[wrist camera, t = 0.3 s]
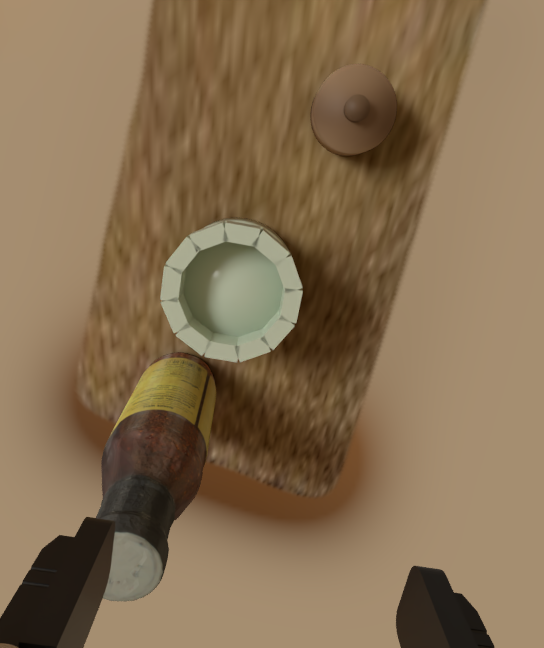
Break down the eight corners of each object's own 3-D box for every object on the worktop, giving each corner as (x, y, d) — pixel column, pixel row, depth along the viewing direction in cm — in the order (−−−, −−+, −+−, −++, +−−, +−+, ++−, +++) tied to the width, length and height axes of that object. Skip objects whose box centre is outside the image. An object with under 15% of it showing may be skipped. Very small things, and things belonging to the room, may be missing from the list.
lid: (319, 67, 34) (325, 52, 31) (394, 82, 35) (409, 70, 31) (303, 148, 36) (308, 143, 32) (375, 162, 36) (388, 159, 32)
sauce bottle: (129, 373, 40) (6, 542, 21) (191, 335, 39) (122, 475, 20) (174, 433, 42) (98, 641, 23) (235, 397, 41) (209, 582, 22)
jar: (188, 207, 37) (170, 212, 30) (304, 229, 37) (313, 238, 30) (173, 320, 39) (154, 348, 32) (283, 339, 40) (286, 370, 33)
